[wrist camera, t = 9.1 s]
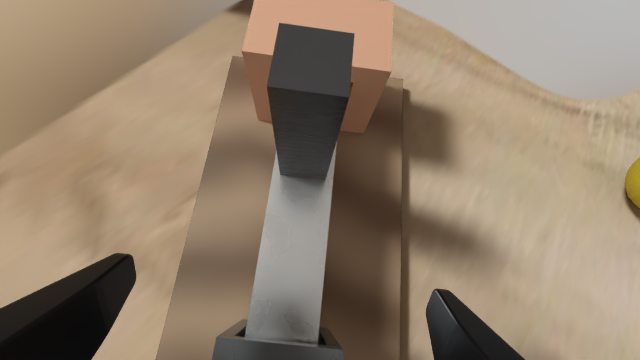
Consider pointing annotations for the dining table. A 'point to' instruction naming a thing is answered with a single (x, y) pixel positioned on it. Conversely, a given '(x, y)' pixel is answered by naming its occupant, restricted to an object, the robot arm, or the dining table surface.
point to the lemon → (633, 182)
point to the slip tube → (300, 180)
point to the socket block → (332, 14)
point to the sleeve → (273, 347)
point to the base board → (248, 220)
